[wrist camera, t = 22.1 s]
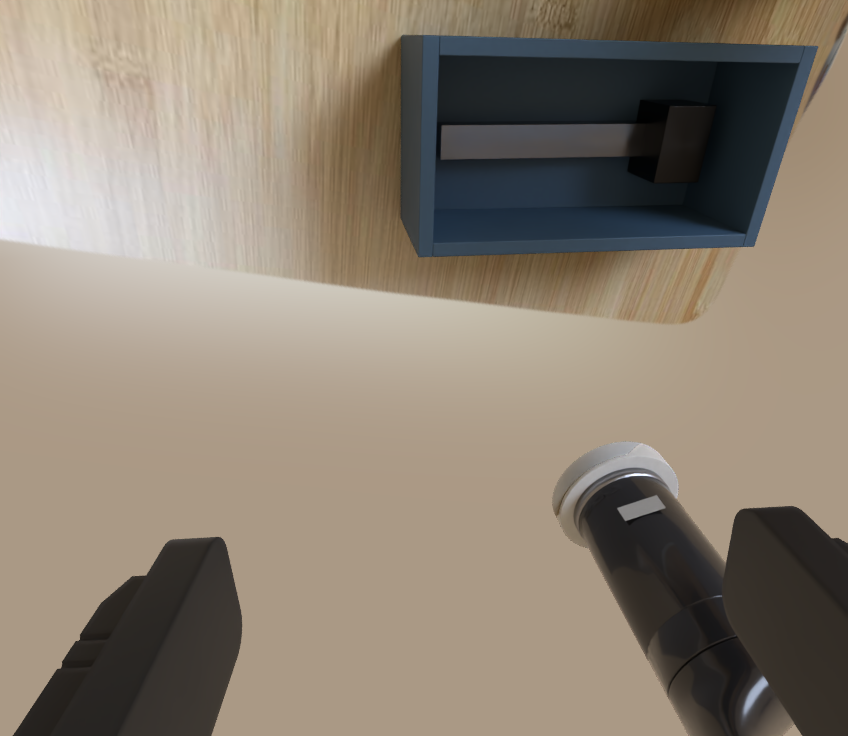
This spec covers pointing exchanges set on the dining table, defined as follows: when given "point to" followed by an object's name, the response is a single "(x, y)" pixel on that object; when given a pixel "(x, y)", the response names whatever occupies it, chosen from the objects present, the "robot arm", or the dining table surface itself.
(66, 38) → the dining table surface
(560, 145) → the grey mallet
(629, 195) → the bin
